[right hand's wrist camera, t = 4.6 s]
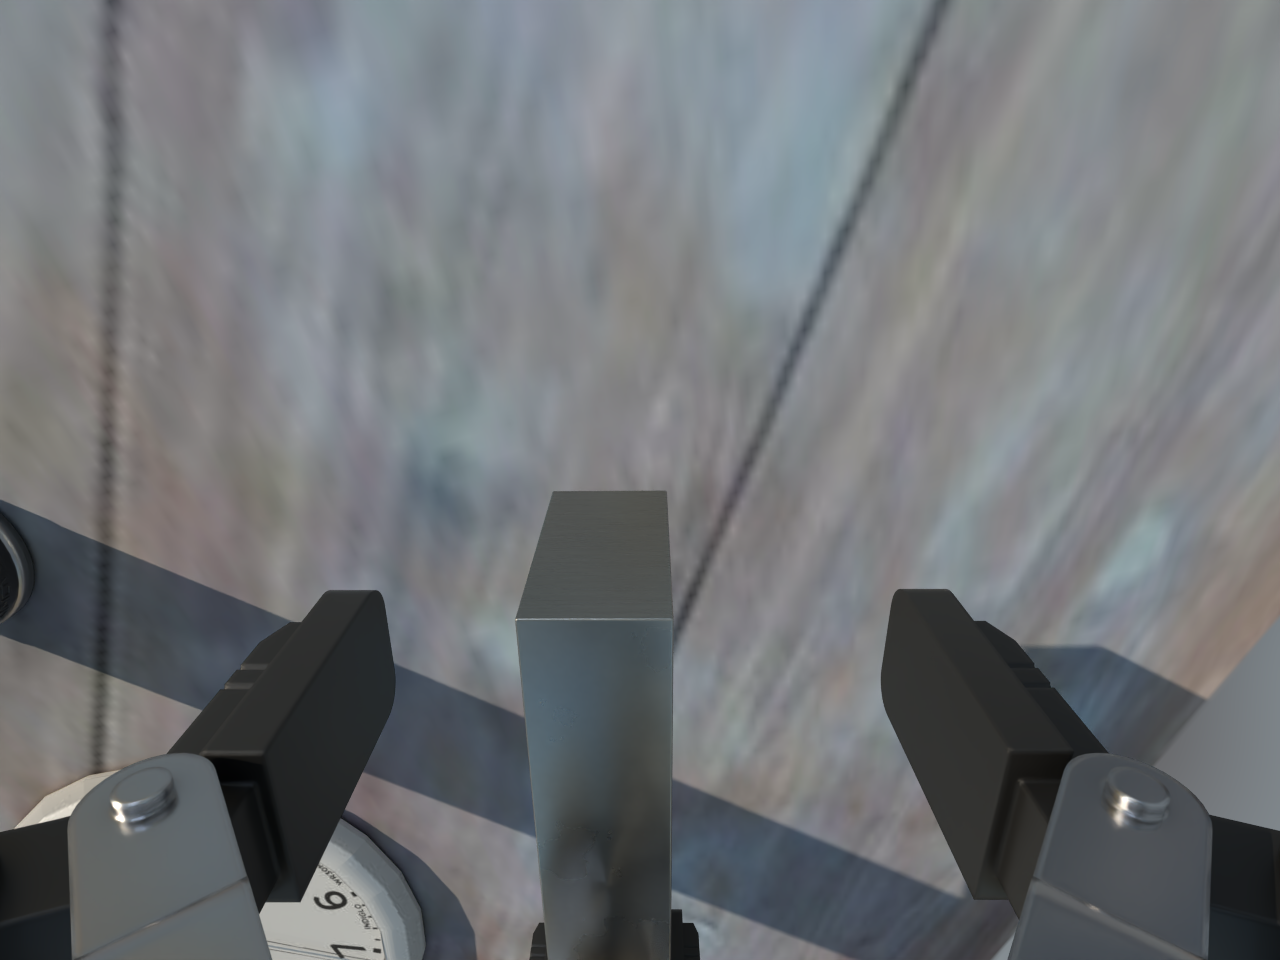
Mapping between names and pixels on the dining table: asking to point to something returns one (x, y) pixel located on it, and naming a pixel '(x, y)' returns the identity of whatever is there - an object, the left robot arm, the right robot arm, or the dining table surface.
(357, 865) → the wall clock
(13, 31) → the dining table surface
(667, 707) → the bar
